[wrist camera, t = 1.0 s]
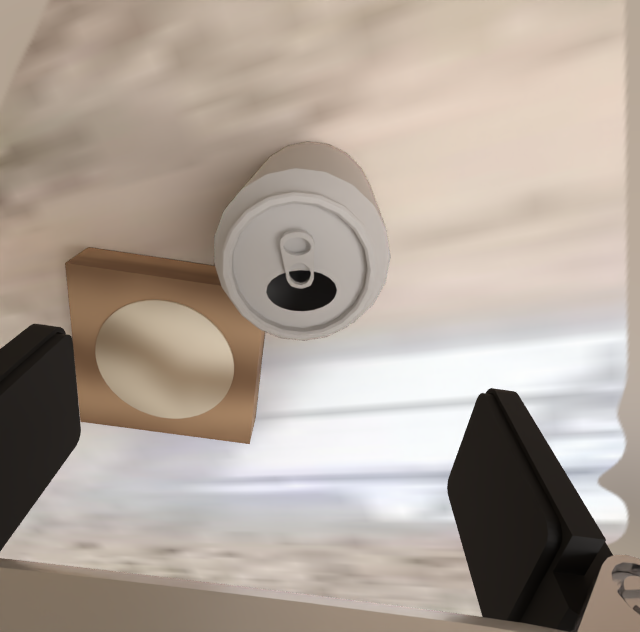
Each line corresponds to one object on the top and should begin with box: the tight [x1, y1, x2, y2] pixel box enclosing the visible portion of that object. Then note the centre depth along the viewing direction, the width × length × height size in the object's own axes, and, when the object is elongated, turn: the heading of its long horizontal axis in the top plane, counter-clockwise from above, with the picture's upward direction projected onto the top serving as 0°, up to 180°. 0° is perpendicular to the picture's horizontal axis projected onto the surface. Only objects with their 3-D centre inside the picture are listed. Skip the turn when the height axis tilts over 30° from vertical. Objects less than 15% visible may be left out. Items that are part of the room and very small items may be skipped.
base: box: [65, 247, 265, 444], centre depth 32 cm, size 12×12×3 cm
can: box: [214, 142, 390, 341], centre depth 24 cm, size 8×8×12 cm
